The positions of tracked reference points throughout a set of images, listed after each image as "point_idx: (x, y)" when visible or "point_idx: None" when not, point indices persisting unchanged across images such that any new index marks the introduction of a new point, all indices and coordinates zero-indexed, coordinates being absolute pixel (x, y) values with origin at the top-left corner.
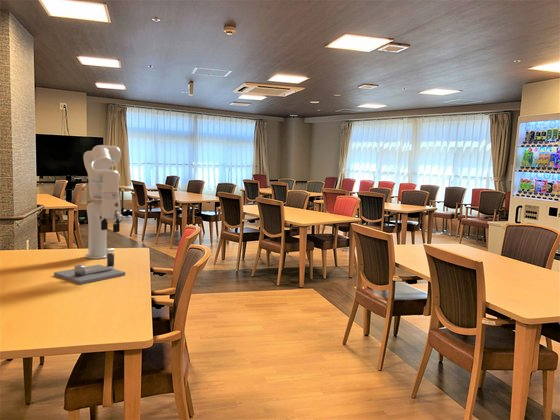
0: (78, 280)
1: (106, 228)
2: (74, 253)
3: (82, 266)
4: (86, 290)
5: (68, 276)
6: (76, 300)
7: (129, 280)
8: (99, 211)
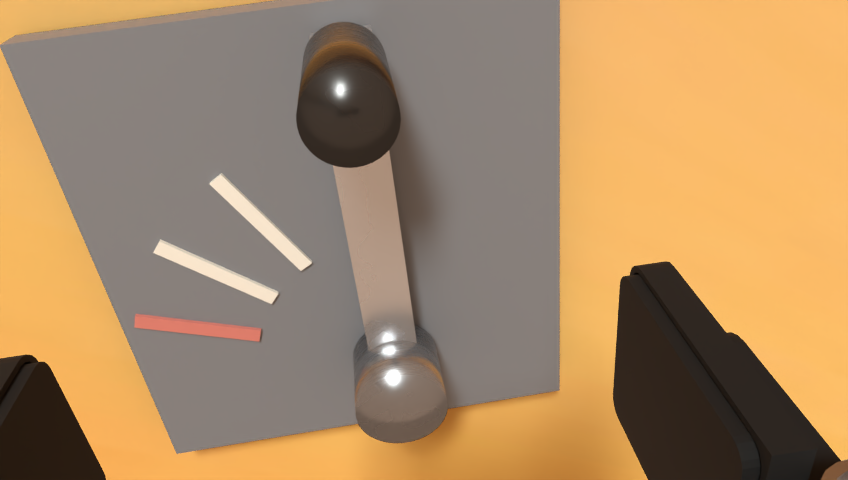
0: (530, 394)
1: (47, 406)
2: None
3: (436, 399)
4: None
5: None
6: None
7: (727, 27)
8: None
